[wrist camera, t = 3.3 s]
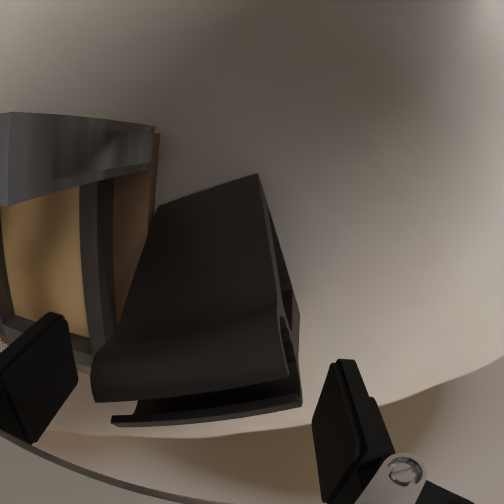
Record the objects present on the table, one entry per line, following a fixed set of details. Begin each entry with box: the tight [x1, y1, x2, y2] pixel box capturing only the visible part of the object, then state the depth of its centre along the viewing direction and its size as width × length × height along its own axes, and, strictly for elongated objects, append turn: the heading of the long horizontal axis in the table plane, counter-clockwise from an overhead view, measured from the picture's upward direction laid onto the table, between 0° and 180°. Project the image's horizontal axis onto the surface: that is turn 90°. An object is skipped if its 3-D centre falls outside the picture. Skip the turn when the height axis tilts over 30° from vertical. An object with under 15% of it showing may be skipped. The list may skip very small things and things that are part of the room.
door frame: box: [0, 112, 160, 374], centre depth 14 cm, size 16×18×12 cm
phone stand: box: [90, 173, 303, 427], centre depth 13 cm, size 9×6×12 cm, turn 17°
